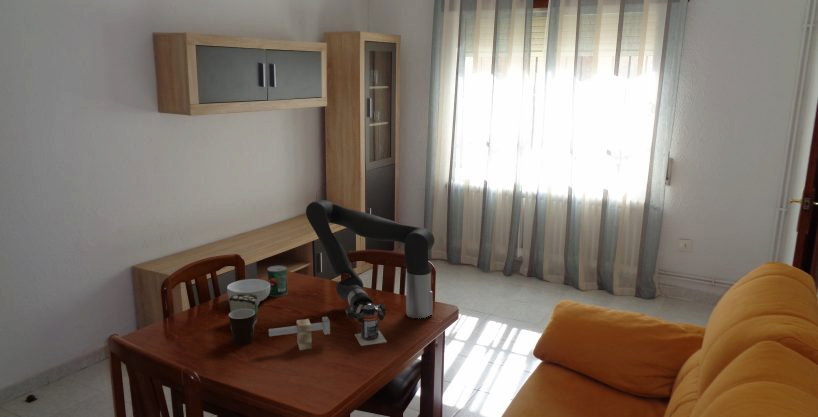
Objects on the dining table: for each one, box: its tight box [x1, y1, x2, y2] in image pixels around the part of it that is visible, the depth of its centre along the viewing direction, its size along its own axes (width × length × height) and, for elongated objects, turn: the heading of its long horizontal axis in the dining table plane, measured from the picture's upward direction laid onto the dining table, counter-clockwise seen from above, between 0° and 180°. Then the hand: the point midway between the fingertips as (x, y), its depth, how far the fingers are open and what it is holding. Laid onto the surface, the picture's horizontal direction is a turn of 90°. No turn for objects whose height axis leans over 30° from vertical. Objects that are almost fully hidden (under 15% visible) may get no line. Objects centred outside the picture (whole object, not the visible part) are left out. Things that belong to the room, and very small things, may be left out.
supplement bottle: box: [360, 305, 379, 340], centre depth 205 cm, size 6×6×11 cm
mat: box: [354, 330, 387, 347], centre depth 206 cm, size 9×9×1 cm
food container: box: [227, 293, 260, 327], centre depth 220 cm, size 12×6×10 cm, turn 71°
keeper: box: [296, 318, 313, 351], centre depth 199 cm, size 4×5×9 cm
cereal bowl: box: [226, 278, 270, 302], centre depth 239 cm, size 17×17×7 cm
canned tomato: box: [266, 264, 289, 298], centre depth 248 cm, size 8×8×11 cm
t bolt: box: [267, 316, 331, 337], centre depth 198 cm, size 20×4×4 cm, turn 109°
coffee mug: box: [228, 309, 255, 346], centre depth 204 cm, size 12×9×10 cm
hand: (371, 319), depth 202 cm, fingers open, 6 cm apart
